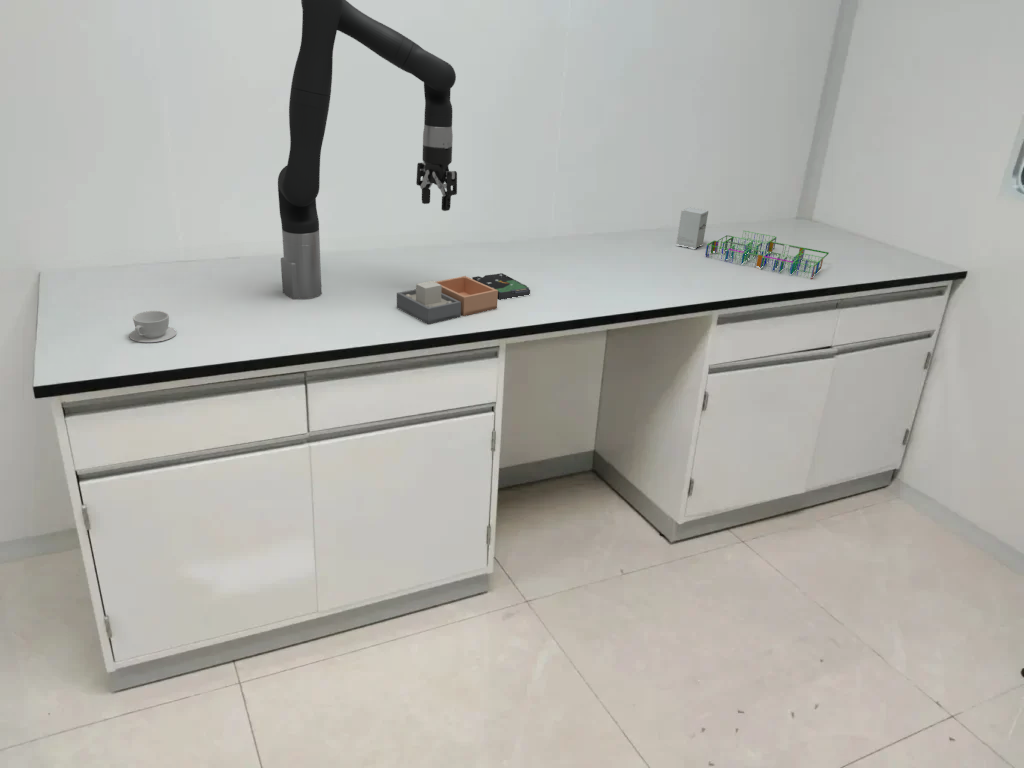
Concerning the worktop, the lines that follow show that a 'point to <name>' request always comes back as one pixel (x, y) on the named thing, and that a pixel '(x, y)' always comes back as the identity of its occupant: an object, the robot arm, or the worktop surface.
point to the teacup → (152, 327)
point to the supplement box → (692, 227)
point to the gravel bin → (429, 307)
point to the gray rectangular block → (428, 292)
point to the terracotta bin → (470, 294)
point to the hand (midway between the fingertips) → (435, 206)
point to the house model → (760, 261)
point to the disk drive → (504, 285)
